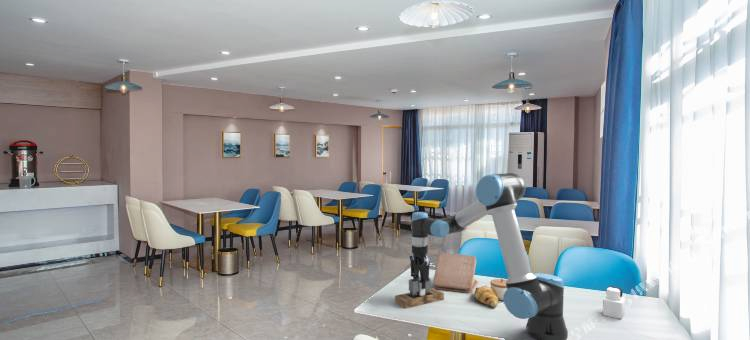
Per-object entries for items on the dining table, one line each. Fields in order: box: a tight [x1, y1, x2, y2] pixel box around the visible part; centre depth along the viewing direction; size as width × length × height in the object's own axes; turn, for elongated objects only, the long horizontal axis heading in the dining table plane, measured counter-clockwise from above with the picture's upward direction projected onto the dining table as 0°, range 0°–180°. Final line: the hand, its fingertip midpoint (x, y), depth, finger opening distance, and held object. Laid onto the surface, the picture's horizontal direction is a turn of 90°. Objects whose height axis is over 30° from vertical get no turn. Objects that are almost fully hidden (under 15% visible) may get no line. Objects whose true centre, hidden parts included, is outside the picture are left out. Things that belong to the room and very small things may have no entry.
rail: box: [394, 287, 445, 309], centre depth 208 cm, size 22×9×3 cm, turn 120°
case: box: [432, 252, 479, 294], centre depth 230 cm, size 20×21×16 cm
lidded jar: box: [490, 278, 507, 301], centre depth 210 cm, size 11×11×9 cm
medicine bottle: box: [602, 285, 626, 320], centre depth 189 cm, size 7×7×12 cm
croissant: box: [474, 285, 499, 308], centre depth 207 cm, size 21×10×8 cm, turn 10°
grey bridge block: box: [408, 277, 431, 298], centre depth 207 cm, size 10×4×8 cm, turn 120°
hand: (419, 293), depth 208 cm, fingers open, 4 cm apart
